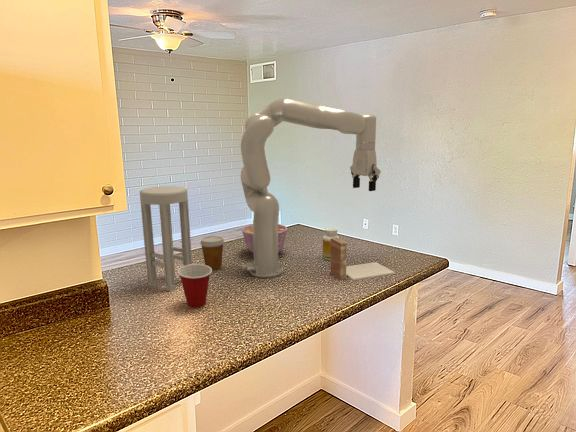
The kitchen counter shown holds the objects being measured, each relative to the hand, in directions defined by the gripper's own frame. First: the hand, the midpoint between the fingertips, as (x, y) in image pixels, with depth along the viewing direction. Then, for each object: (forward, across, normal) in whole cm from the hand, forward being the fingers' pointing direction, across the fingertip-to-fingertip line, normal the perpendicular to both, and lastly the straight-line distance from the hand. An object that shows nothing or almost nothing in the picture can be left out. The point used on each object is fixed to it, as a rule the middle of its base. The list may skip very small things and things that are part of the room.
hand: (364, 189), depth 172 cm
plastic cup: (+31, +6, -74) cm, 80 cm away
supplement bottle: (+31, -9, -9) cm, 33 cm away
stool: (+31, -17, -76) cm, 84 cm away
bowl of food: (+31, -30, -30) cm, 52 cm away
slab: (+30, +10, -20) cm, 37 cm away
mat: (+30, +11, -8) cm, 33 cm away
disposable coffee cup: (+31, -25, -56) cm, 69 cm away
